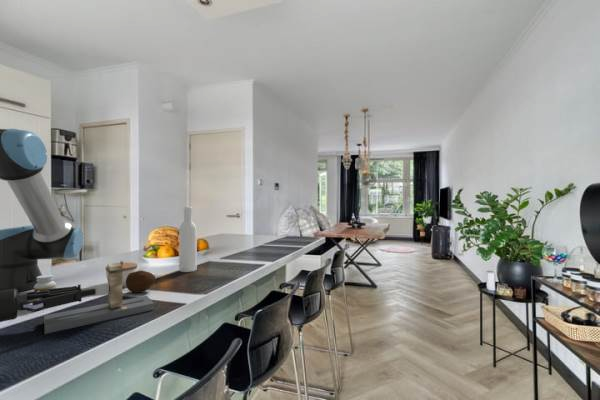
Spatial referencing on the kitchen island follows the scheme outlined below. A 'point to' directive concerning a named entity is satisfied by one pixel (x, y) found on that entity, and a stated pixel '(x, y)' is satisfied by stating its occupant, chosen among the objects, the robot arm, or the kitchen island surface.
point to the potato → (139, 281)
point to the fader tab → (115, 285)
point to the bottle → (187, 243)
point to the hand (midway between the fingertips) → (108, 288)
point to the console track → (95, 314)
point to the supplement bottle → (45, 282)
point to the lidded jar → (125, 271)
